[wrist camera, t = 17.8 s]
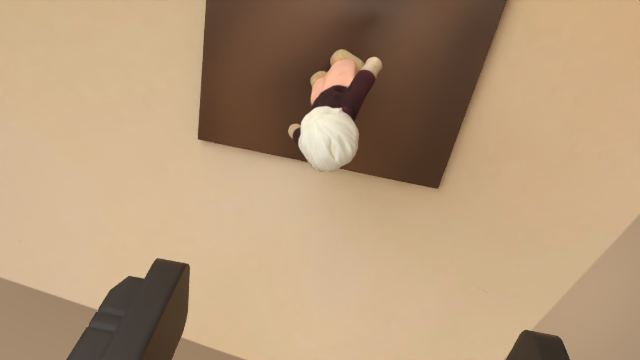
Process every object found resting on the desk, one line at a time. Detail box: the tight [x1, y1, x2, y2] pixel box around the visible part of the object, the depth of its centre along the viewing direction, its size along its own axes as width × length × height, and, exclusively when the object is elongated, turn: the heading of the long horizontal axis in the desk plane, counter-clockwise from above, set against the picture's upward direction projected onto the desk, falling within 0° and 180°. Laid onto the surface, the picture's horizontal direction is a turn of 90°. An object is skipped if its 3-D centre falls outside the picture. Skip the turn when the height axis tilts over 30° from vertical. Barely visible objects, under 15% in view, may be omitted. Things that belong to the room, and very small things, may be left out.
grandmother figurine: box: [288, 49, 382, 172], centre depth 32 cm, size 8×4×13 cm, turn 146°
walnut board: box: [198, 0, 507, 189], centre depth 38 cm, size 20×16×1 cm
